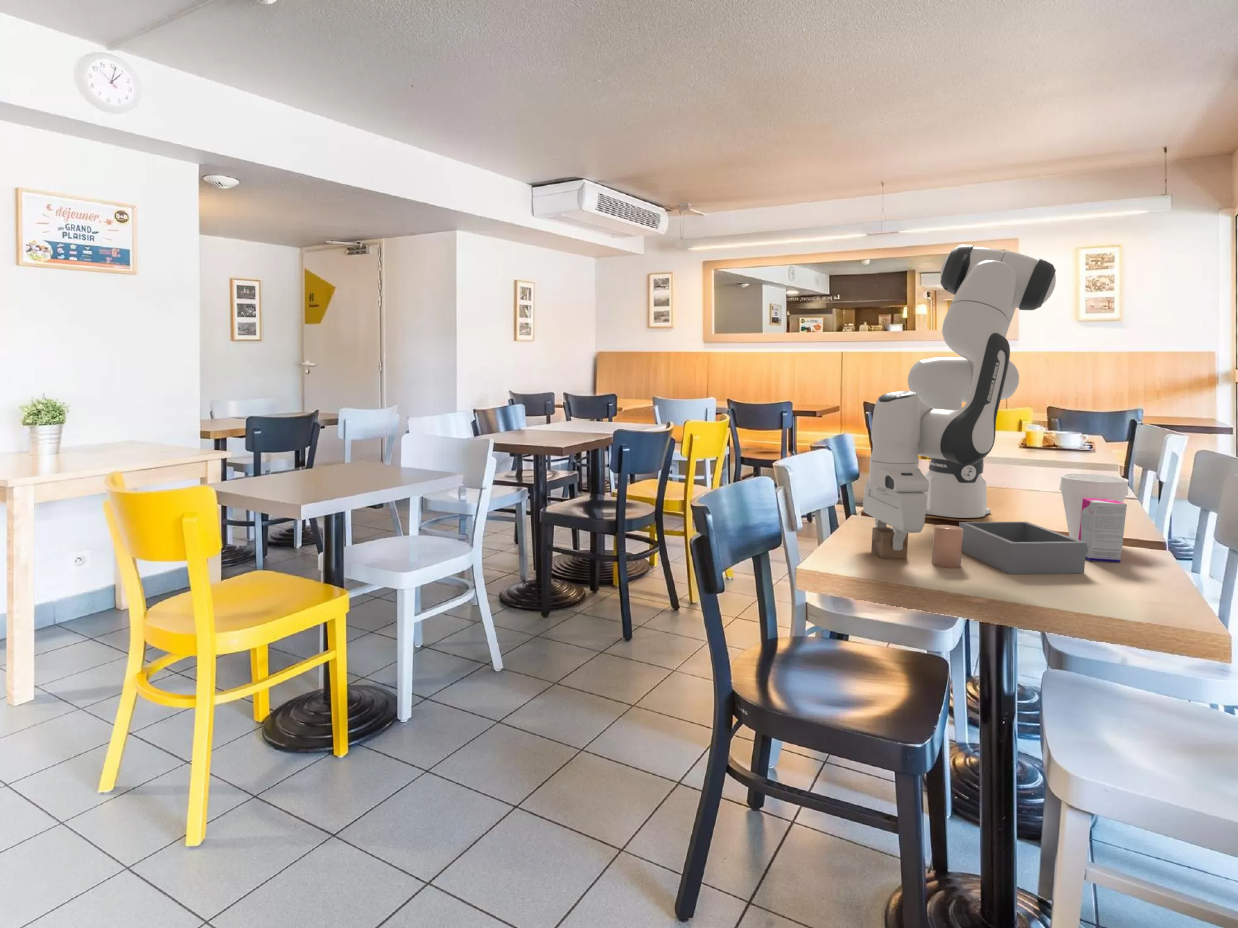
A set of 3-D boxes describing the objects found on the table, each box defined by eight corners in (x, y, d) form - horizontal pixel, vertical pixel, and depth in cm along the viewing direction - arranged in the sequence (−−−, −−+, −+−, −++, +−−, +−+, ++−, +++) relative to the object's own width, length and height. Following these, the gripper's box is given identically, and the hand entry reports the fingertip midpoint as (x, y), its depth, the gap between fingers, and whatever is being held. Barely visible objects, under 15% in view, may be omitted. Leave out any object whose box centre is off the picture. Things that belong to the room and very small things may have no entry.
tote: (957, 549, 150) (959, 522, 149) (1023, 548, 151) (1026, 521, 150) (1008, 573, 132) (1011, 543, 132) (1084, 573, 133) (1086, 542, 132)
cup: (1134, 549, 151) (1141, 483, 149) (1068, 546, 153) (1074, 481, 151) (1106, 535, 163) (1112, 474, 161) (1046, 533, 165) (1051, 472, 163)
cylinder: (926, 560, 141) (929, 524, 140) (952, 560, 141) (954, 524, 141) (939, 568, 136) (942, 530, 135) (965, 567, 136) (968, 530, 136)
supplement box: (1122, 563, 140) (1128, 503, 139) (1087, 561, 141) (1093, 502, 140) (1108, 555, 146) (1114, 498, 144) (1075, 553, 147) (1080, 497, 146)
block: (871, 551, 148) (872, 527, 147) (895, 551, 148) (897, 527, 147) (881, 558, 143) (882, 533, 142) (906, 558, 143) (908, 532, 142)
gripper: (857, 468, 153) (853, 533, 155) (900, 484, 133) (895, 558, 135) (886, 468, 154) (883, 533, 155) (934, 483, 133) (929, 558, 135)
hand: (889, 545), depth 145 cm, fingers closed on block, 5 cm apart
